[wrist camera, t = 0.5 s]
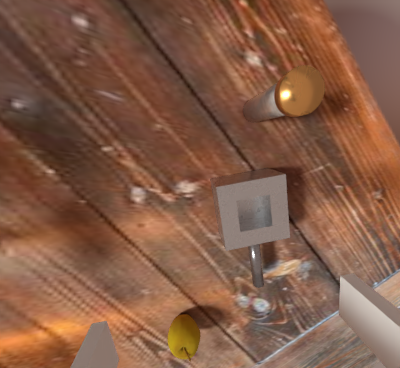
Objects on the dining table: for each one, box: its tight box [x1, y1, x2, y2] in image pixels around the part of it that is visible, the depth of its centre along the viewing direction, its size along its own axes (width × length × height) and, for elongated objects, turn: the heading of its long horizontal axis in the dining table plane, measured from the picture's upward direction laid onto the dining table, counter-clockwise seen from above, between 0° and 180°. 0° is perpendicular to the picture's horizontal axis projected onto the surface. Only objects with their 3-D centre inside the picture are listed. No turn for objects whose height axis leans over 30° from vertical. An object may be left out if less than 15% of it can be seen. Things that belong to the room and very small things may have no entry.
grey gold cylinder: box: [243, 65, 325, 123], centre depth 27 cm, size 5×5×14 cm
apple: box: [168, 314, 200, 361], centre depth 38 cm, size 6×6×8 cm
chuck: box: [210, 168, 290, 288], centre depth 35 cm, size 21×11×6 cm, turn 10°
